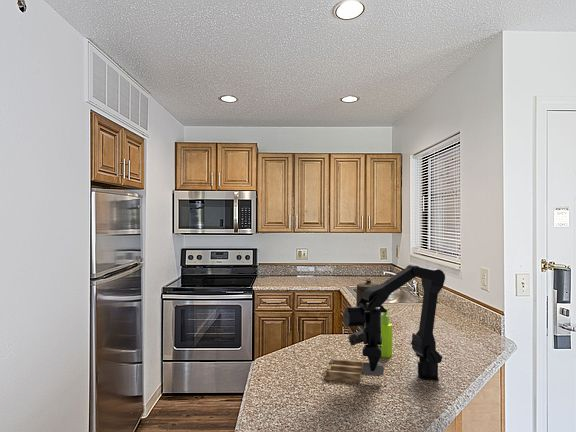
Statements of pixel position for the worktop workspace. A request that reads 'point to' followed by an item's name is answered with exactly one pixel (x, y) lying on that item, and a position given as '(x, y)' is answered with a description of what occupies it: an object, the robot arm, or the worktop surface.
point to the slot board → (344, 370)
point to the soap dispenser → (386, 335)
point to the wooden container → (362, 287)
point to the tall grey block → (368, 371)
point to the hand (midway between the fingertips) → (372, 369)
